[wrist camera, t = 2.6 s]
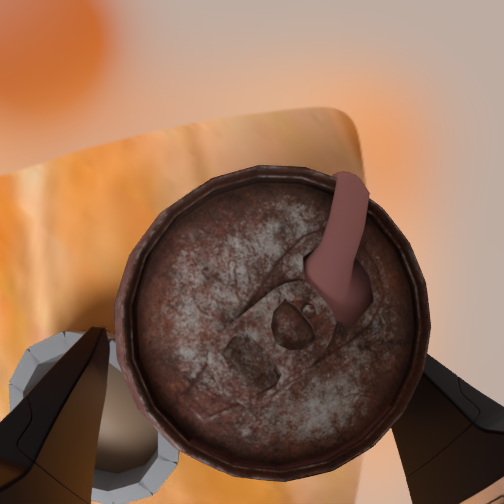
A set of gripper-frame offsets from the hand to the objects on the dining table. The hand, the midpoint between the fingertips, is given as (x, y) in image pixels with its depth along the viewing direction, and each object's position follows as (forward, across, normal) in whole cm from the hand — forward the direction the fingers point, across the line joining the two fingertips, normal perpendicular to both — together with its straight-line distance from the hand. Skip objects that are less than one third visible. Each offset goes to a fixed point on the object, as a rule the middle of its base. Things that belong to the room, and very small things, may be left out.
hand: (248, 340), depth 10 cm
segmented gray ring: (+3, +7, +10) cm, 12 cm away
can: (+7, 0, +6) cm, 9 cm away
